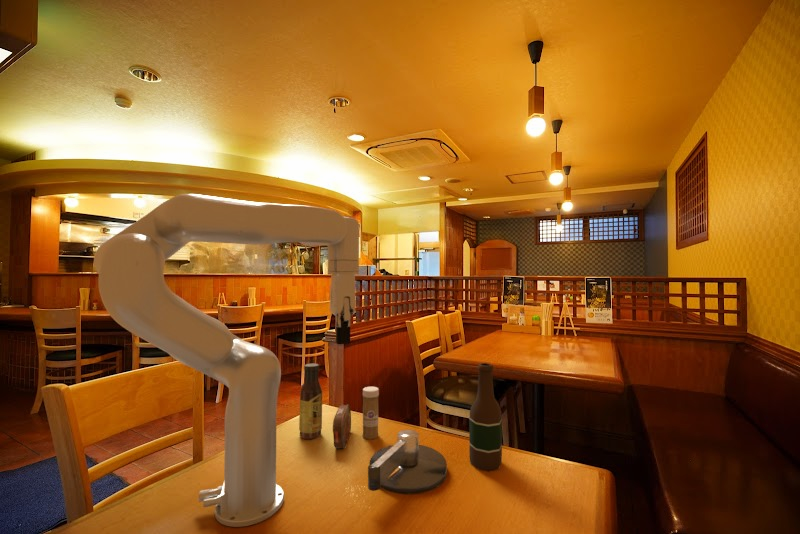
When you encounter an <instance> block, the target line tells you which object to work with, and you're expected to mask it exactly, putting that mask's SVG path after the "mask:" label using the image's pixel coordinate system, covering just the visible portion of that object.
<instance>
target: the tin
mask: <svg viewBox="0 0 800 534" xmlns="http://www.w3.org/2000/svg"><path fill="white" fill-rule="evenodd" d="M351 429H352V413H351V406H350V404H342V405H341V404H340V405H339V407H338V408H337V411H336V413H335V415H334V417H333V422H332V433H333V434H332V435H333V447H334V448H335V449H346V447H347V445H348V442H349V438H350V436H351V435H350V434H351Z"/></svg>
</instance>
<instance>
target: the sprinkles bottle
mask: <svg viewBox="0 0 800 534" xmlns="http://www.w3.org/2000/svg"><path fill="white" fill-rule="evenodd" d="M379 395H380V389H379V387H377V386H365V387H364V388H362V402H363V403H362V437H363V439H365V440H374V439H376V438H378V436H379Z"/></svg>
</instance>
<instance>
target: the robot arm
mask: <svg viewBox="0 0 800 534" xmlns="http://www.w3.org/2000/svg"><path fill="white" fill-rule="evenodd" d="M190 242H196V243H198V242H200V243H202V242H203V243H217V244H218V243H219V244H220V243H221V244H237V245H238V244H239V245H253V246H254V245H256V246H257V245H260V246H262V245H263V246H265V245H275V244H282V243H299V244H300V245H303V246H306V247H319V246H321V247H322V246H327V274H328V275H331V276H330V277H331V278H330V287H329V288H330V289H329V290H330V292H329V293H330V295H329V312H330V313H331V314H332V315H334V316H335V317H336V318H335V319H336V322H335V323H336V327H335V342H336V344H337V345H348V344H350V343H351V316H353V315H355V313H356V277H355V276H356V275H358V274H360V272H359V271H360V224H359V221H358V219H357V218H354V217H350V216H344V215H343V214H341V213H340V212H338V211H337V210H335V209H330V208H325V207H318V206H311V205H301V204H300V205H299V204H282V203H275V202H274V203H270V202H257V201H248V200H241V199H240V200H239V199H233V198H225V197H220V196H219V197H218V196H211V195H203V194H197V193H182V194H177V195H175V196H173V197H171V198H169V199H167V200H165V201H163V202H162V203H160V204H159V205H158V206H156V207H155V208H154V209H153V210H151V211H150V212H148V213H147V214H146V215H144V216H142V217H141V218H140V219H138V220H137V221H135V222H133V223H132V224H131V225H129V226H128V227H126V228H125V229H123V230H122V231H119V232H118V233H117V234H115V235H113V236H112V237H110V238H109V239H107V240H106V241H104V242H103V243H102V244H101V245H99V247H98V248H97V250H96V251H95V254H94V257H93V265H94V267H95V268H94V269H95V270H96V272H97V274H98V283H97V284H98V291H99V295H100V298H101V302H102V304H103V306H104V308H105V310H106V312H107V313H108V315H110V317H111V318H112V319H113V320H114V321H115V322H116V323H117V324H118V325H120V326H121V327H122V328H124V329H125V330H127V331H128V332H130V333H131V334H133V335H134V336H137V337H138V338H140V339H142V340H144V341H146V342H147V343H149V344H151V345H152V346H153V347H156V348H158V349H159V350H162V351H163V352H164V353H167V354H168V355H169V356H170V357H171V358H173V359H174V360H175V361H178V362H179V363H181V364H183V365H185V366H186V367H190V368H193V370H196V371H198V372H200V373H202V374H203V375H206V376H207V377H209V378H211V379H214V380H215V381H218V382H219V383H221V384H223V385H224V386H226V387H227V388H228V398H227V402H226V406H225V413H224V467H223V468H224V473H223V474H224V481H223V484H222V485H218V486H217V488H209V489H202V490H199V492H198V503H202V502H203V503H202V504H203V505H202V507H203V508H207V507H212V506H215V507H214V516H215V519H216V521H218V523H220V524H222V525H223V526H227V527H234V528H239V527H242V528H243V527H248V526H253V525H256V524H259V523H261V522H263V521H265V520H267V519H269V518H271V516H272V517H273V515H274V514H276V512H278V511H279V510H280V508H281V507H282V506H283V503H284V499H285V492H284V490H283V488H282V487H281V486H280V485H278V484H277V407H278V406H277V405H278V404H277V403H278V394H279V389H280V384H281V377H282V368H281V363H280V360H279V359H278V357H277V356H276V354H275V353H274V352H273V351H271V350H270V349H269V348H266V347H264V346H262V345H259V344H255V343H252V342H248V341H247V340H245V339H242V338H240V337H238V336H237V335H236V334H233V333H232V332H231V331H230V329H229V328H228V327H227V325H226V324H224V323H223V322H222V321H220V320H218V319H217V318H215V317H214V316H213V317H212V316H211V315H209V314H207V313H206V312H204V311H202V310H200V309H198V308H197V307H195V306H194V305H192V304H191V303H189V302H187V301H186V300H184V299H183V298H182V297H180V296H179V295H178V294H176V293H174V292H173V291H172V290H171V289H170V288H169V286H168V285H167V283H166V281H165V275H164V271H165V264H166V261H167V260H169V259H170V258H172V256H174V255H175V254H176V253H177V252H179V251H180V250H181V249H183V248H184V247H185V246H186V245H187V244H188V243H190Z"/></svg>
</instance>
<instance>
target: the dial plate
mask: <svg viewBox="0 0 800 534" xmlns="http://www.w3.org/2000/svg"><path fill="white" fill-rule="evenodd" d="M394 445H395V444H392V445H388V446H385V447H382V448H381V449H379V450H377V451H376V452H375V453H374V454H372V456H370V458H369V459H370V460H369V465H370V464H373V463H374V462H376V461H377V460H378V459H379V458H380V457H381V456H382V455H383V454H385V453H386V452H387V451H388V450H389V449H390V448H391V447H393V446H394ZM447 463H448V462H447V460H446V458H445V457H444V455H443V454H442V453H440V451H438V450H436V449H434V448H432V447H429V446H427V445H424V444H423V445H422V444H419V462H418V463H417V464H415V465H413V466H404V465H400V466H399V467H398V468H397V469H396V470H395V471H394V472H393V473H392V474H391V475H390V476H389V477H388V478H387V479H386V480H385V481H384V482H383V483H382V484H381V485H380V489H383V490H385V491H387V492H391V493H395V494H399V495H418V494H423V493H428V492H430V491H433V490H435V489H437V488H438V487H440V486H441V485H442V484H443V483H444V482H445V480H446V478H447V472H448V471H447V468H448V467H447Z"/></svg>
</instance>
